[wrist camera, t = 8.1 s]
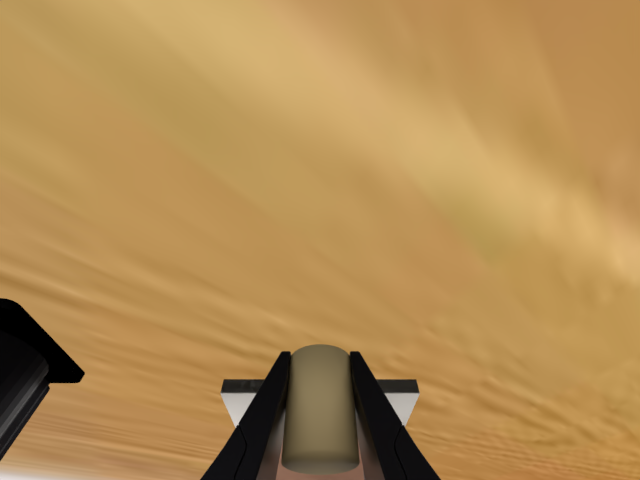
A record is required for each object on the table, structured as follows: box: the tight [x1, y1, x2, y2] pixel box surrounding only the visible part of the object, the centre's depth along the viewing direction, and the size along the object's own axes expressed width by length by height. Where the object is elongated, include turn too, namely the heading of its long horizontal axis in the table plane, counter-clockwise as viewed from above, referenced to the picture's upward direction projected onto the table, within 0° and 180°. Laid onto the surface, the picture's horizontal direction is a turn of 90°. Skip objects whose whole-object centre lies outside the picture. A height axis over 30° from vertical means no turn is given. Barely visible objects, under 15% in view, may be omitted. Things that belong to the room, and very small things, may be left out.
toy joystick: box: [276, 344, 364, 480], centre depth 16 cm, size 17×6×4 cm, turn 178°
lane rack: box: [220, 379, 420, 480], centre depth 24 cm, size 25×11×3 cm, turn 0°
